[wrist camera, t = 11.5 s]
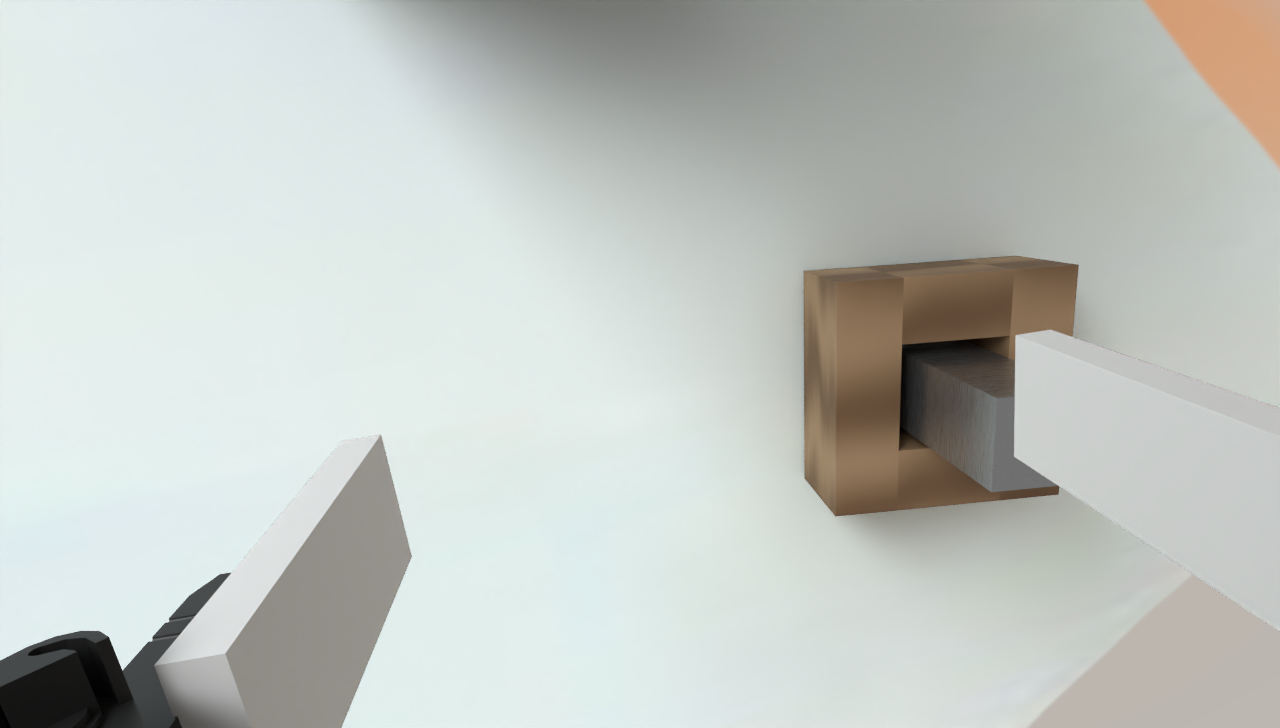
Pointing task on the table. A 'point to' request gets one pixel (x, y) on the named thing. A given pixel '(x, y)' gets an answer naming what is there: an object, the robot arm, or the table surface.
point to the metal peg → (965, 411)
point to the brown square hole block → (871, 368)
